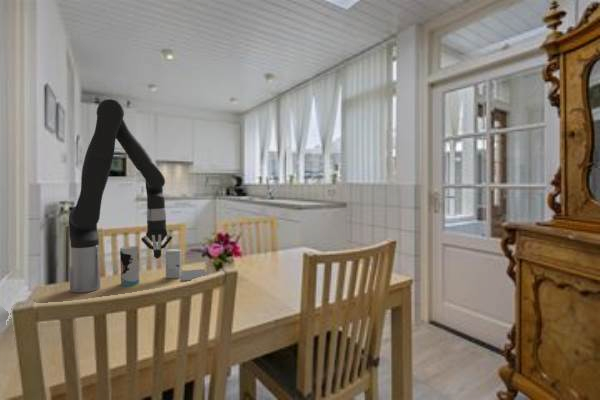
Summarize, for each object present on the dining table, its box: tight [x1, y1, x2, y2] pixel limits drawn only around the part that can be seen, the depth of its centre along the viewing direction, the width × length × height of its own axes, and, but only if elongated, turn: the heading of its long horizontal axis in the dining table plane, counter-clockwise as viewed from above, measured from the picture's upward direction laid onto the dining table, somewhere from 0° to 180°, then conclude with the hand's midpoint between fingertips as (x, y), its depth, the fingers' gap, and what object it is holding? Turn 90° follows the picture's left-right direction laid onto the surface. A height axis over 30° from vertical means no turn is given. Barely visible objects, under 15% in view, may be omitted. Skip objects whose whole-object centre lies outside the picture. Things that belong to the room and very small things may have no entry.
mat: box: [180, 268, 207, 282], centre depth 150 cm, size 12×16×1 cm
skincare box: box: [165, 248, 183, 279], centre depth 147 cm, size 6×4×12 cm
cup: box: [119, 245, 140, 287], centre depth 137 cm, size 7×7×15 cm
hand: (157, 258), depth 145 cm, fingers closed
